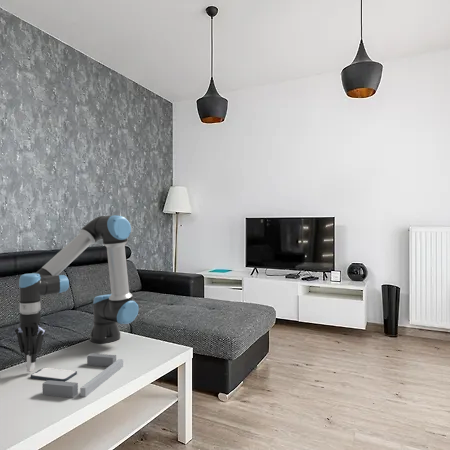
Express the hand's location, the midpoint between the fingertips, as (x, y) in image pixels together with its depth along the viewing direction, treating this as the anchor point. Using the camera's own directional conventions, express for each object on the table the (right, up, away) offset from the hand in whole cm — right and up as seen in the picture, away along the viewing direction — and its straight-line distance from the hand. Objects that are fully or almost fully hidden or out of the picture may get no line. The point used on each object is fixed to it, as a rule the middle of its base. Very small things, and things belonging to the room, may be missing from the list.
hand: (30, 370), depth 151 cm
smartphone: (+10, -2, -2) cm, 11 cm away
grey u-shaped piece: (+25, -1, -5) cm, 26 cm away
